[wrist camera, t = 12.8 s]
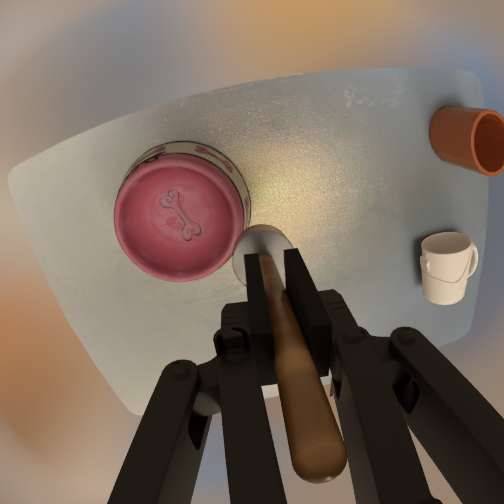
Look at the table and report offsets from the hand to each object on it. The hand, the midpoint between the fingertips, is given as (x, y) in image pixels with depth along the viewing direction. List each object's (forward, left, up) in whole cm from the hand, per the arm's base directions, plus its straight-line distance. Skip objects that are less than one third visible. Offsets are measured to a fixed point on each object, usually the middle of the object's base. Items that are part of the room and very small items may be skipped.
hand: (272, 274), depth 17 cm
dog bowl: (+3, -9, -26) cm, 28 cm away
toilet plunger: (+3, 0, -9) cm, 9 cm away
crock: (-5, +33, -26) cm, 42 cm away
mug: (+16, +32, -26) cm, 44 cm away
